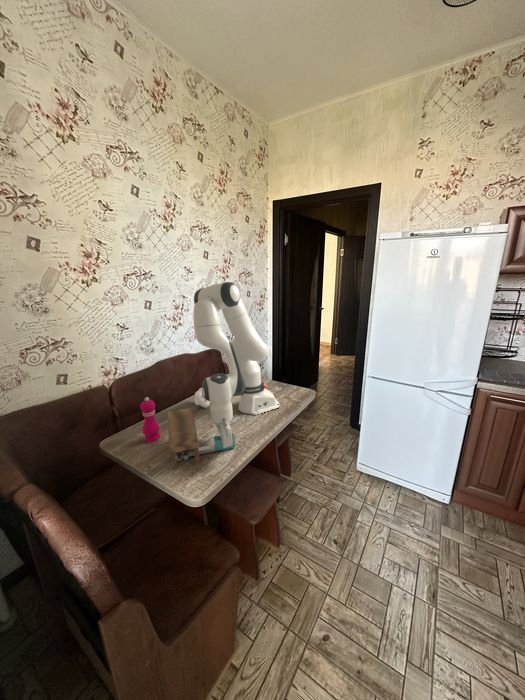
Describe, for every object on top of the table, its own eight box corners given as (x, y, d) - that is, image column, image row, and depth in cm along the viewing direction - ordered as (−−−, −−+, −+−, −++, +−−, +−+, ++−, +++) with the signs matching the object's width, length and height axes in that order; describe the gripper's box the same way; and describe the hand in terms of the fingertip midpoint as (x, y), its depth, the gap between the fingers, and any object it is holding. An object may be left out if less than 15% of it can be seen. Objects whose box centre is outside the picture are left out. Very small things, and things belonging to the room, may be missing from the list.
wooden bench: (194, 435, 126) (191, 407, 122) (199, 463, 107) (196, 430, 104) (171, 440, 123) (167, 411, 119) (172, 469, 104) (168, 436, 101)
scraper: (232, 441, 120) (231, 431, 119) (235, 449, 115) (235, 439, 113) (183, 451, 114) (182, 440, 112) (184, 460, 108) (183, 448, 107)
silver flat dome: (183, 454, 114) (183, 451, 113) (184, 460, 109) (183, 458, 109) (172, 456, 112) (171, 453, 112) (172, 463, 108) (171, 460, 108)
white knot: (188, 405, 156) (187, 390, 153) (205, 398, 165) (204, 384, 162) (201, 411, 149) (200, 395, 146) (218, 403, 158) (217, 388, 155)
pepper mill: (150, 444, 120) (144, 402, 115) (140, 440, 124) (133, 398, 119) (164, 436, 126) (159, 395, 121) (154, 432, 130) (148, 392, 124)
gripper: (235, 424, 103) (237, 456, 107) (224, 402, 122) (226, 430, 126) (218, 428, 102) (221, 460, 105) (210, 404, 120) (212, 433, 124)
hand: (223, 443), depth 116 cm, fingers closed on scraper, 3 cm apart
